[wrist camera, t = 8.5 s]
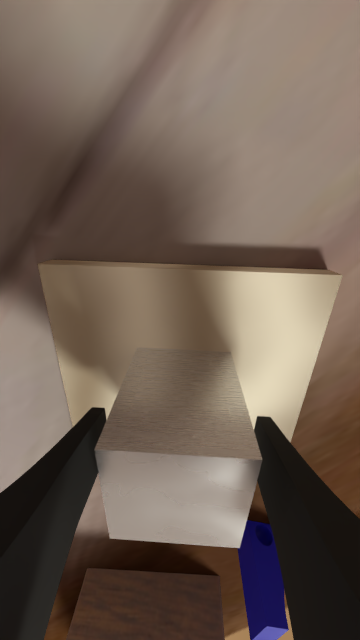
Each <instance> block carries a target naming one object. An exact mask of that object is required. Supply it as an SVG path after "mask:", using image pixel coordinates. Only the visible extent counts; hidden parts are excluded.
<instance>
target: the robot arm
mask: <svg viewBox="0 0 360 640" xmlns="http://www.w3.org/2000/svg"><path fill="white" fill-rule="evenodd" d="M106 421H107V420H106V413H105V408H99V407H92V408H91V409H90V410H89V411H88V412H87V413H86V414H85V415H84V416H83V417H82V418H81V419H80V420H79V421H78V422H77V423H76V424H75V426H74V427H73V428H72V429H71V430H70V431H69V432H68V433H67V434H66V435H65V436H64V437H63V438H62V439H61V440H60V441H59V442H58V443H57V444H56V445H55V446H54V447H53V448H52V449H51V450H50V451H49V452H47V453H46V454H45V455H44V456H43V457H42V458H41V459H40V460H39V461H38V462H37V463H36V464H35V465H33V466H32V467H31V468H30V469H29V470H28V471H27V472H25V473H24V474H23V475H22V476H21V477H20V478H18V479H17V480H16V481H15V482H14V483H12V484H11V485H10V486H9V487H8V488H6V489H5V490H4V491H2V492H1V493H0V640H44V636H45V633H46V629H47V625H48V622H49V618H50V615H51V611H52V608H53V604H54V600H55V597H56V593H57V590H58V587H59V583H60V580H61V576H62V573H63V570H64V566H65V563H66V560H67V556H68V553H69V550H70V547H71V544H72V540H73V537H74V534H75V531H76V528H77V525H78V522H79V520H80V517H81V514H82V512H83V509H84V507H85V504H86V502H87V499H88V497H89V494H90V492H91V489H92V487H93V484H94V482H95V479H96V477H97V474H98V467H97V461H96V456H95V450H94V449H95V447H96V445H97V442H98V440H99V437H100V435H101V433H102V430H103V428H104V425H105V423H106ZM254 433H255V436H256V439H257V443H258V446H259V450H260V453H261V456H262V464H261V468H260V472H259V476H258V479H257V481H258V484H259V488H260V491H261V495H262V498H263V501H264V505H265V508H266V512H267V515H268V519H269V522H270V526H271V529H272V533H273V537H274V541H275V545H276V550H277V555H278V559H279V564H280V569H281V574H282V579H283V584H284V589H285V594H286V599H287V605H288V610H289V615H290V620H291V626H292V632H293V638H294V640H360V519H359V518H358V517H357V516H356V515H355V514H354V513H353V512H352V511H351V510H350V509H349V508H348V507H347V506H346V505H345V504H344V503H343V502H342V501H341V500H340V499H339V498H338V497H337V496H336V495H335V494H334V493H333V492H332V491H331V490H330V489H329V488H328V487H327V485H326V484H325V483H324V482H323V481H322V480H321V479H320V478H319V477H318V475H317V474H316V473H315V472H314V471H313V470H312V469H311V467H310V466H309V465H308V464H307V463H306V461H305V460H304V459H303V458H302V457H301V455H300V454H299V453H298V452H297V450H296V449H295V448H294V447H293V445H292V444H291V443H290V442H289V440H288V439H287V438H286V436H285V435H284V434H283V433H282V431H281V430H280V429H279V427H278V426H277V425H276V423H275V422H274V421H273V419H272V418H271V417H265V416H257V419H256V423H255V428H254Z"/></svg>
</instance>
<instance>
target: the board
mask: <svg viewBox="0 0 360 640" xmlns="http://www.w3.org/2000/svg"><path fill="white" fill-rule="evenodd" d="M37 265H38V269H39V274H40V278H41V283H42V288H43V292H44V297H45V301H46V306H47V311H48V315H49V320H50V324H51V329H52V334H53V338H54V343H55V347H56V352H57V357H58V361H59V366H60V370H61V375H62V379H63V384H64V389H65V393H66V398H67V402H68V407H69V412H70V416H71V421H72V425H73V427H74V426H75V424H76V423H77V422H78V421H79V420H80V419H81V418H82V417H83V416H84V415H85V414H86V413H87V412H88V411H89V410H90V409H91V408H92V407H99V408H105V413H106V420H107V418H108V416H109V413H110V411H111V409H112V406H113V404H114V401H115V399H116V397H117V394H118V392H119V390H120V387H121V385H122V382H123V380H124V378H125V375H126V373H127V370H128V368H129V366H130V363H131V361H132V358H133V356H134V354H135V351H136V349H137V347H139V348H159V349H180V350H200V351H220V352H231V354H232V358H233V361H234V364H235V368H236V371H237V375H238V378H239V381H240V385H241V388H242V392H243V395H244V399H245V402H246V405H247V409H248V412H249V416H250V419H251V422H252V426H253V429H254V428H255V423H256V419H257V416H265V417H271V418H272V419H273V421H274V422H275V423H276V425H277V426H278V427H279V429H280V430H281V431H282V433H283V434H284V435H285V436H286V438H287V439H288V440H289V442H291V438H292V435H293V432H294V429H295V426H296V422H297V419H298V416H299V413H300V410H301V406H302V403H303V400H304V397H305V394H306V391H307V387H308V384H309V381H310V378H311V375H312V371H313V368H314V365H315V362H316V359H317V355H318V352H319V349H320V346H321V343H322V339H323V336H324V333H325V330H326V327H327V323H328V320H329V317H330V314H331V311H332V307H333V304H334V301H335V298H336V295H337V291H338V288H339V285H340V282H341V279H342V275H341V274H338V273H335V272H333V271H330V270H321V269H294V268H266V267H239V266H211V265H184V264H157V263H129V262H102V261H74V260H49V261H45V262H42V263H39V264H37Z"/></svg>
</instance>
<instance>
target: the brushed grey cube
mask: <svg viewBox="0 0 360 640" xmlns="http://www.w3.org/2000/svg"><path fill="white" fill-rule="evenodd" d="M94 450H95V456H96V461H97V467H98V473H99V479H100V485H101V490H102V496H103V502H104V508H105V514H106V520H107V525H108V531H109V537H110V539H123V540H137V541H151V542H164V543H178V544H191V545H205V546H219V547H232V548H240V545H241V541H242V537H243V533H244V530H245V526H246V522H247V518H248V514H249V510H250V506H251V503H252V499H253V495H254V491H255V487H256V483H257V479H258V476H259V472H260V468H261V464H262V456H261V453H260V450H259V446H258V443H257V439H256V436H255V433H254V429H253V426H252V422H251V419H250V416H249V412H248V409H247V405H246V402H245V399H244V395H243V392H242V388H241V385H240V381H239V378H238V375H237V371H236V368H235V364H234V361H233V358H232V354H231V352H220V351H200V350H180V349H159V348H139V347H137V349H136V351H135V354H134V356H133V358H132V361H131V363H130V366H129V368H128V370H127V373H126V375H125V378H124V380H123V382H122V385H121V387H120V390H119V392H118V394H117V397H116V399H115V401H114V404H113V406H112V409H111V411H110V413H109V416H108V418H107V421H106V423H105V425H104V428H103V430H102V433H101V435H100V437H99V440H98V442H97V445H96V447H95V449H94Z"/></svg>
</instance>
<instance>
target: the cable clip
mask: <svg viewBox="0 0 360 640" xmlns="http://www.w3.org/2000/svg"><path fill="white" fill-rule="evenodd" d="M238 554H239V561H240V568H241V576H242V583H243V590H244V597H245V604H246V611H247V618H248V626H249V633H250V639H251V640H277V639H278V638H279V637H281V636H282V635H283V634H284V633H285V632H287V631H288V630H289V629H288V624H287V619H286V614H285V604H284V584H283V579H282V574H281V569H280V564H279V559H278V555H277V550H276V545H275V541H274V537H273V533H272V529H271V526H270V524H265V523H260V522H255V521H250V520H247V522H246V526H245V530H244V533H243V537H242V541H241V545H240V548H238Z"/></svg>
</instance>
